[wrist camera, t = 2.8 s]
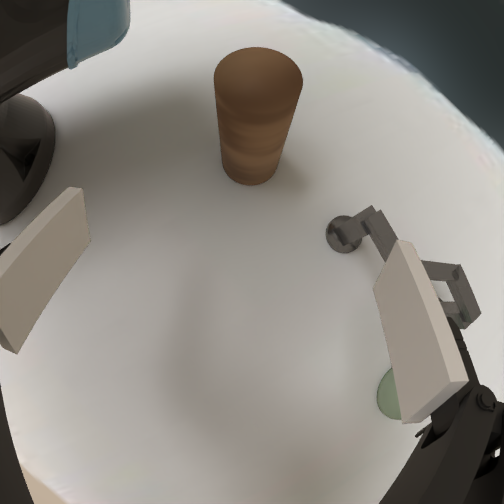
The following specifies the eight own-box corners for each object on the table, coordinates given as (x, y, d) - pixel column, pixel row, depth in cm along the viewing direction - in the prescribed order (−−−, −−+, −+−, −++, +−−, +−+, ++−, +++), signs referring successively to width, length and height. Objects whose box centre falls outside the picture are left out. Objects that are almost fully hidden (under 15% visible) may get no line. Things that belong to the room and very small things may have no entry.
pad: (367, 386, 26) (368, 387, 25) (416, 347, 26) (418, 348, 26) (390, 429, 25) (392, 430, 25) (436, 392, 26) (438, 393, 25)
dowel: (212, 150, 28) (198, 66, 16) (259, 126, 28) (271, 38, 16) (240, 195, 27) (242, 126, 15) (288, 169, 28) (320, 92, 16)
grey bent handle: (314, 245, 27) (340, 229, 20) (337, 209, 27) (368, 184, 20) (432, 335, 26) (478, 343, 19) (449, 301, 27) (496, 301, 20)
